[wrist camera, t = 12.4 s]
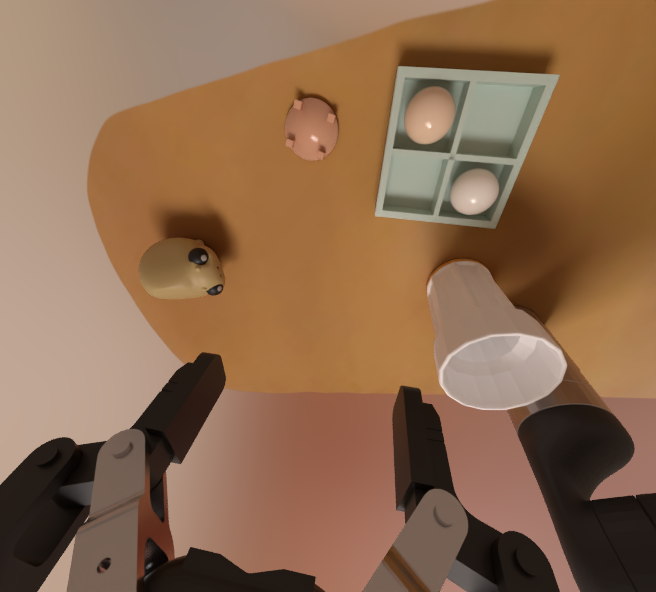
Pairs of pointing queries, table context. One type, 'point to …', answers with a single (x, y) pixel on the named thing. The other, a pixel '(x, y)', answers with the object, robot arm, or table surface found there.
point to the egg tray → (460, 141)
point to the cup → (488, 341)
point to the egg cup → (311, 129)
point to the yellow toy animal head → (181, 269)
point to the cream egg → (474, 191)
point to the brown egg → (429, 115)
